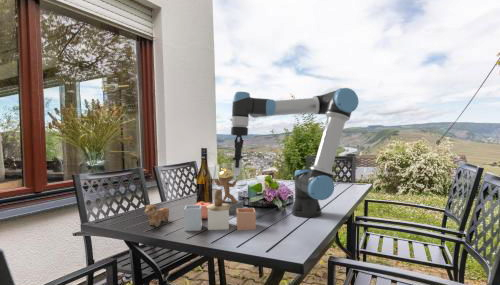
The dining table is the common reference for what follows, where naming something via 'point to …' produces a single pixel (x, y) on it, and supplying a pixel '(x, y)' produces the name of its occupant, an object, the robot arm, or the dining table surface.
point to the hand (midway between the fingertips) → (237, 173)
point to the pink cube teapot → (204, 209)
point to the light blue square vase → (192, 217)
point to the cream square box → (218, 220)
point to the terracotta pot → (246, 218)
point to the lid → (218, 202)
